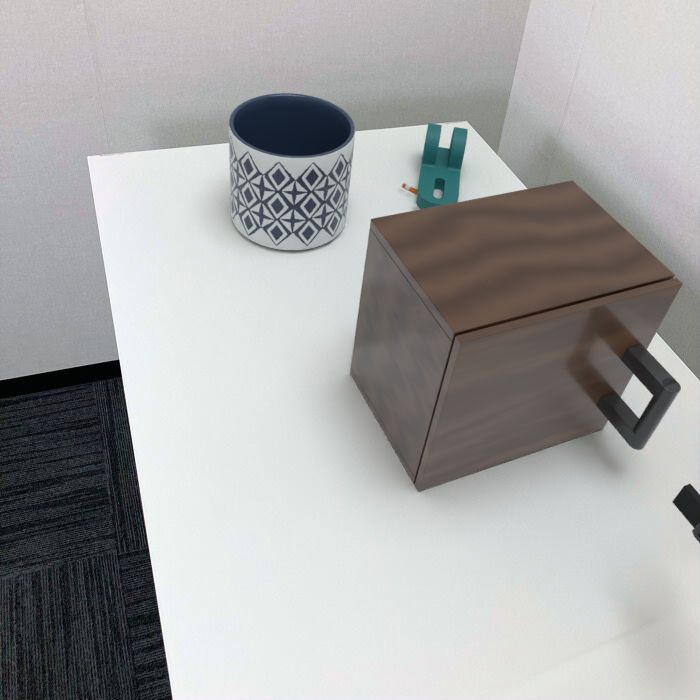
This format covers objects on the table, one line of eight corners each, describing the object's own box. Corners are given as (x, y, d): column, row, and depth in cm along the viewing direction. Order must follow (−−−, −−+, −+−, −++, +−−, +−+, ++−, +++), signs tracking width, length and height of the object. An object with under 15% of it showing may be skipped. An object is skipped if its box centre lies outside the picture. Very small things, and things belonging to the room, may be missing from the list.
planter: (226, 186, 121) (223, 92, 110) (334, 183, 125) (343, 92, 113) (236, 256, 109) (234, 159, 97) (355, 250, 113) (367, 156, 101)
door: (639, 472, 88) (732, 329, 71) (448, 544, 79) (502, 399, 62) (598, 423, 93) (676, 277, 76) (414, 485, 84) (455, 335, 67)
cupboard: (596, 422, 93) (675, 274, 76) (413, 484, 84) (454, 332, 67) (519, 327, 104) (572, 179, 87) (349, 373, 95) (370, 218, 78)
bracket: (422, 155, 134) (429, 115, 128) (459, 161, 134) (468, 121, 128) (414, 212, 121) (422, 171, 116) (455, 218, 121) (465, 177, 116)
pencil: (404, 186, 127) (404, 182, 126) (492, 231, 120) (493, 227, 120) (401, 187, 126) (402, 184, 126) (489, 233, 120) (491, 229, 119)
